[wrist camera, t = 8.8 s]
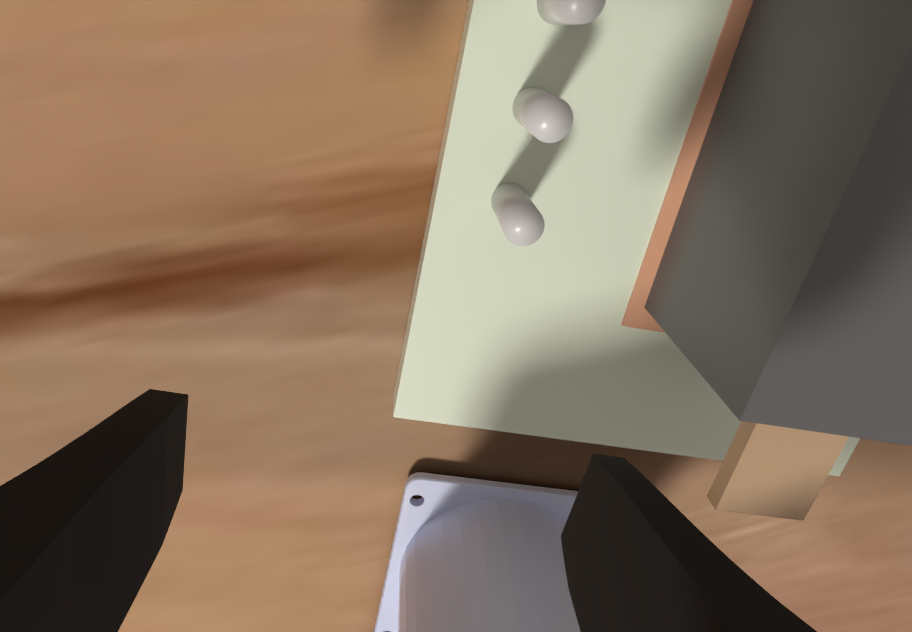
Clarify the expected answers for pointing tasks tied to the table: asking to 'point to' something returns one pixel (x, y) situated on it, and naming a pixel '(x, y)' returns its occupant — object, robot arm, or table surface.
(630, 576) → the robot arm
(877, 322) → the block
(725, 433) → the board
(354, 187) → the table surface
